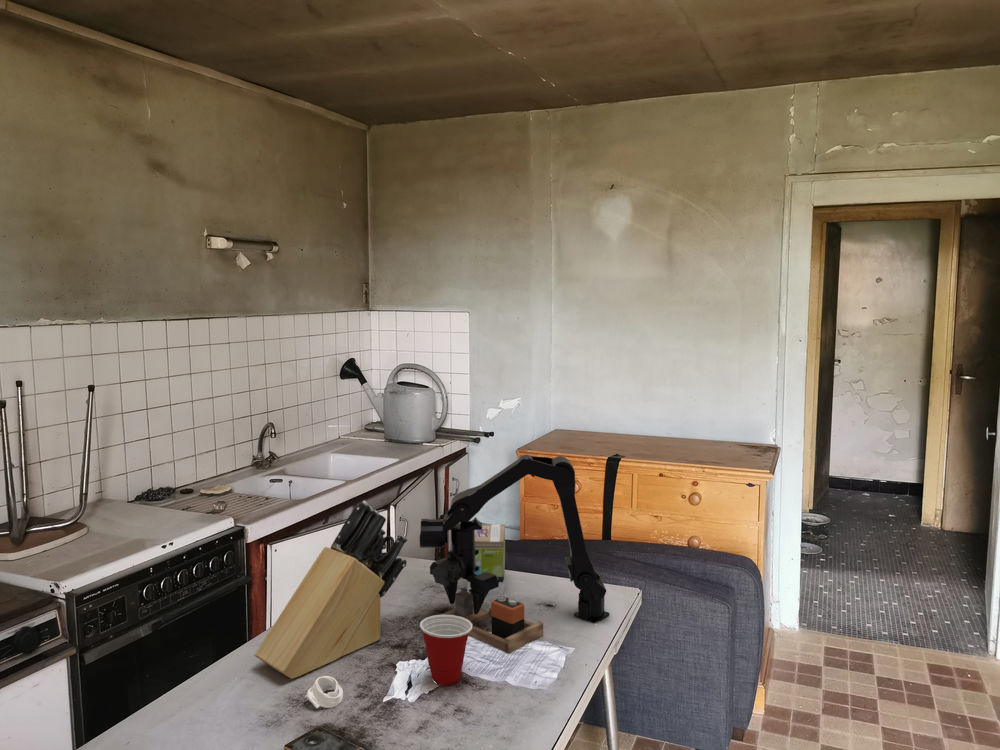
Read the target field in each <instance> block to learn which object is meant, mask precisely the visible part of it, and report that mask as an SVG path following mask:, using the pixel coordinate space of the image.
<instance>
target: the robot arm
mask: <svg viewBox="0 0 1000 750" xmlns="http://www.w3.org/2000/svg"><path fill="white" fill-rule="evenodd" d="M528 475H529V476H534V477H537V478H540V479H544V480H548V481H552V483H553V486H554V489H555V490H556V493H557V495H558V497H559V498H558V499H559V502H560V507H561V511H562V517H563V520H564V525H565V530H566V535H567V539H568V545H569V549H570V550H569V556H565V557H564V560H565V563H566V565H567V573H568V577H569V578H568V579H569V581H570V582H572V583H573V584H574V586H575V588H576V589H578V590H579V592H578V600H577V601H578V603H577V606H578V607H577V611H576V612H574V613H573V617H576V618H578V619H581V620H584V621H587V622H590V623H593V624H596V623H598V622H600V621H602V620H603V619H605V618H607V617H610V612H608V611H605V596H606V593H607V589H606V586H605V584H604V582H603V579H602V577H601V575H600V574H598V572H596V571H595V568H594V565H593V563H592V560H591V558H590V556H589V553H588V551H587V547H586V542H585V539H584V533H583V528H582V524H581V519H580V514H579V511H578V505H577V501H576V472H575V468H574V466H573V464H572V463H571V460H570V459H568V458H567V457H565V456H560V455H559V456H555V457H548V456H535V455H529V454H523V455H521V456H519V458H518V459H517V460H515V461H514V462H512V463H511V464H509V465H508V466H506V467H505V468H504V469H501V470H500V471H498V473H496V474H494V475H493V476H491V477H490V478H488V479H487V480H485V481H484V482H483V483H481V484H479V485H477V486H474V487H471V488H468V489H465V490H462V491H461V492H458V493H456V494H455V495H454V496H453V497H452V498H451V501H450V502H451V503H450V507H449V509H448V510H447V512H446V513H445V514H444V515H443V518H439V519H438V518H437V519H435V518H434V519H431V518H421V520H420V533H419V547H420V549H423V548H424V549H429V548H430V549H431V548H435V549H436V548H440V549H441V548H444V547H445V546H446V544H449V531H450V544H451V546H450V547H451V549H450V550H448V551H447V552H446V557H443V558H441V559H438V560H436V561H433V562H432V563H431V565H430V566H429V574H430V575H432V576H433V580H434V582H435V584H437V585H438V584H439V585H442V586H443V588H444V590H445V593H446V596H447V599H448V602H449V604H450V605H453V604H455V594H457V593H458V592H457V590H458V585H459V583H458V582H459V580H460V579H463V580H466V581H467V580H468V581H470V587H471V588H472V589H470V590H469V592H470V593H471V594H472V595H473V609H474V614H478V613H479V611H480V608H482V606H483V604H484V601H485V599H486V598H487V596H488V595H489V594H488V592H489V591H490V590H492V589H494V588H497V587H499V578H498V577H497V576H496V575H493V574H491V573H488V572H484V573H482V574H479V575H476V574H475V572H476V571H478V570H479V566H477V565H475V555H477V554H479V550H478V549H475V530H481V529H482V524H483V523H482V522H481V521H480V520H479V519H478V518H477V517H476V515H477V514H478V513H479V512H480V511H481V510H482V509H483V508H484V506H485V505H486V504H487V503H488V502H489V501H490V500H492V499H493V498H494V497H496V496H499V494H500V493H502V492H503V491H505V490H507V489H508V488H510V487H512V485H514V484H516V483H517V482H519V481H520V480H522V479H523V478H525V477H526V476H528Z"/></svg>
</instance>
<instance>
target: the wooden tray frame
mask: <svg viewBox="0 0 1000 750" xmlns="http://www.w3.org/2000/svg"><path fill="white" fill-rule="evenodd" d="M454 604H455V608H452V609H450V610H448V611H444V612H443V613H441V614H440V615H454V616H459V617H463V618H465V619H467V620H469V621H470V622H471V623H472V630H471V631H470V633H469V636H468V637H472V638H474V639H477V640H478V641H480V642H483V643H485V644H487V645H489V646H491V645H492V647H494V648H496V649H499V650H501V651H502V652H505V653H508V654H510V653H512V652H514V651H516V650H518V649H520V648H521V646H522V647H524V646H526V645H528V644H530V643H531V642H534V641H535V640H537V639H539V638H541V637H543V636H544V622H542V621H537V622H535V623H534V622H531V621H530V620H529V621H528V620H527V619H524V629H523V630H521V631H519V632H517V633H515V634H513V635H511V636H509V637H507V638H505V639H503V638H500V637H498V636H496V635H493V634H492V632H489V631H486V630H484V629H481V628H479V627H477V626H475V625H474V624H476V623H479V622H481V621H482V620H483V621H484V619H487V618H491V607H490V608H489V609H488V610H486V609H483V608H482V607H481V608H480V611H479V613H478V614H474V609H473V595H472V594H471V593H469V592H467V590H462V591H460V592H456V594H455V602H454ZM529 642H530V643H529ZM527 643H528V644H527ZM525 644H526V645H525ZM523 645H524V646H523Z"/></svg>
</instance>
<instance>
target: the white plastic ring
mask: <svg viewBox="0 0 1000 750" xmlns="http://www.w3.org/2000/svg"><path fill="white" fill-rule="evenodd" d="M331 688H332V689H333V690H334V691H329V689H331ZM327 691H329V692H327ZM326 692H327V693H326ZM343 697H344V691H343V688H342V686H340V684H339V683H338V681H337V679H336V678H334V677H332V676H329V675H324V676H320V677H318V678H316V680H315V681H314V683H313V684H312V687H310V688H308V690H307V691H306V695H304V697H303V702H304V703H306V702H307V701H309V702H310V703H311V704H312V705H313V706H314V707H315V708H316V709H319V708H320V707H322V708H325V709H327V708H329V709H331V708H334V707H336V706H337V705H339V704H340V703H342V701H343Z"/></svg>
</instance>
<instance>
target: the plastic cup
mask: <svg viewBox="0 0 1000 750" xmlns="http://www.w3.org/2000/svg"><path fill="white" fill-rule="evenodd" d="M472 625H473V624H472V623H471V622H470V621H469V620H467V619H465V618H463V617H459V616H454V615H441V614H436V615H431V616H427V617H425V618H424V619H422V620H421V621H420V623H419V629H420V630H421V632H422V636H423V641H424V645H425V651H426V657H427V663H428V666H429V669H430V675H431V679H433V680H434V681H435V682H436V683H437V684H436V683H435V684H436V685H438V686H442V687H443V686H447V687H448V686H452V685H456V684H458V683H459V681H460V679H461V677H462V670H463V665H464V660H465V654H466V653H465V652H466V648H467V642H468V638H469V637H470V636H469V633H470V631H471V630H472ZM433 680H432V681H433Z"/></svg>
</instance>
